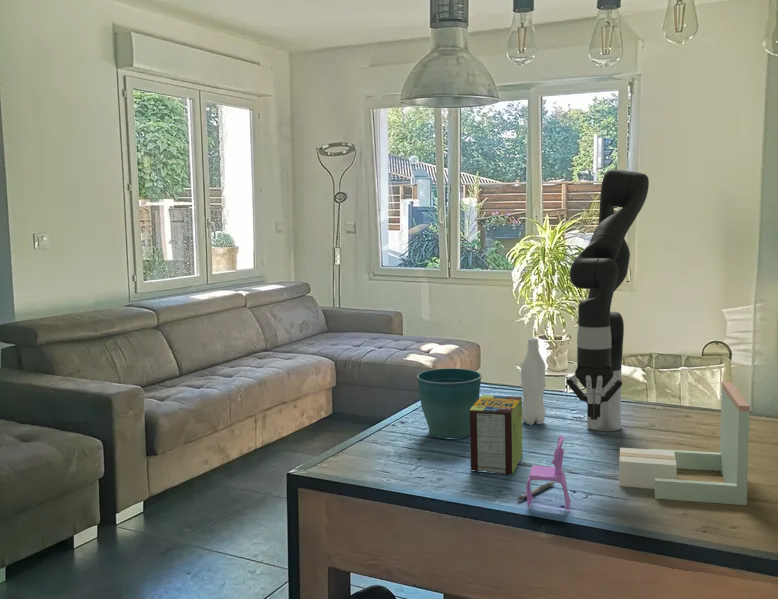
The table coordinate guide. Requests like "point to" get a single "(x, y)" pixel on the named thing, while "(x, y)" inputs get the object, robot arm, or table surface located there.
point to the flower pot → (448, 400)
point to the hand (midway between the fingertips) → (594, 418)
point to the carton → (645, 467)
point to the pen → (536, 490)
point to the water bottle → (533, 384)
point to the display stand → (716, 459)
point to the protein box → (496, 433)
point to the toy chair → (550, 473)
